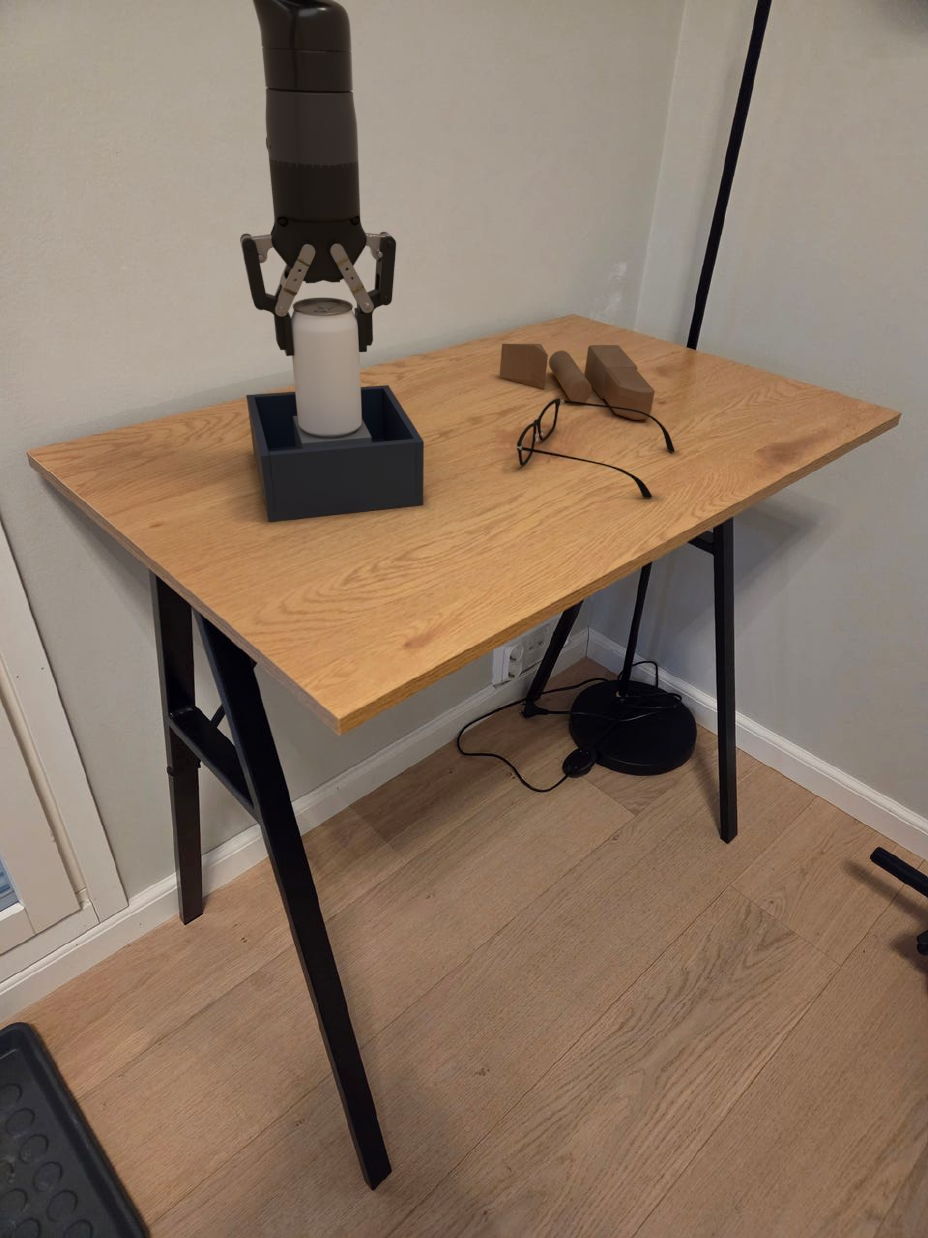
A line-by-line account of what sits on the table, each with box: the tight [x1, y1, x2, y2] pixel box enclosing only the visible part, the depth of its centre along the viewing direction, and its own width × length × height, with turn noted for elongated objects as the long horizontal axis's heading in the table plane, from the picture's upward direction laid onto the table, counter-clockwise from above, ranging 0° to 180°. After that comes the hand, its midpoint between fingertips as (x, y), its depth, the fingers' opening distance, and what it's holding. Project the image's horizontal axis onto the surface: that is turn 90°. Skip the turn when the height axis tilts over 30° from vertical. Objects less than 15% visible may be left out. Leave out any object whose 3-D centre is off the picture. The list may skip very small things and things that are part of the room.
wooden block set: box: [499, 343, 656, 421], centre depth 105 cm, size 17×6×18 cm
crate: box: [246, 384, 425, 523], centre depth 83 cm, size 16×16×7 cm
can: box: [291, 297, 362, 438], centre depth 78 cm, size 6×6×12 cm
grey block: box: [293, 416, 372, 449], centre depth 83 cm, size 7×7×5 cm
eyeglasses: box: [515, 397, 676, 499], centre depth 90 cm, size 16×16×4 cm
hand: (326, 351), depth 77 cm, fingers closed on can, 6 cm apart
